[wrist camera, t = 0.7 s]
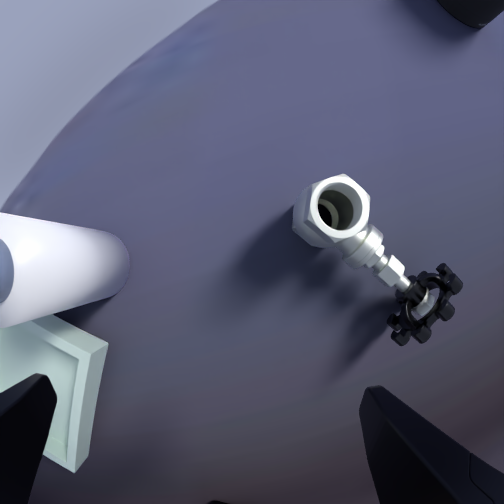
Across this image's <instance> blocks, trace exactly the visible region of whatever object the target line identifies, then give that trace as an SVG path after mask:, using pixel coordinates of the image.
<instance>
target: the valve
mask: <svg viewBox="0 0 504 504" xmlns="http://www.w3.org/2000/svg"><path fill="white" fill-rule="evenodd" d="M318 204H322V205H324V206H325V207H326V208H327V209H328V210H329V211H330V213H331V216H332V226H331V228H330V227H329V226H327V225H326V224H325V223H324V222H323V221H322V219H321V217H320V215H319V212H318ZM369 207H370V196H369V195H368V194H367V193H366V192H365V191H364V190H363V189H362V188H361V187H360V186H359V185H358V184H357V183H356V182H354V181H353V180H352V179H351V178H349V177H348V176H347V175H345V174H341V175H337V176H334V177H331V178H328V179H325V180H322V181H320V182H317V183H314V184H312V185H310V186H308V187H307V188H305V189H304V190H303V191H302V192H301V193H300V194H299V196H298V197H297V199H296V202H295V204H294V208H293V222H292V230H293V231H294V232H295V233H297V234H298V235H299V236H300V237H301V238H303V239H304V240H305V241H306V242H307V243H309V244H310V245H311V246H316V247H320V248H333V247H336V248H337V249H339V250H340V251H341V252H342V253H343V256H342V259H343V261H345V262H346V263H347V264H348V265H349V266H350V267H351V268H353V269H358V268H360V267H361V266H364V267H366V268H370V267H372V268H374V271H373V273H372V274H373V275H374V276H375V277H376V278H377V279H378V280H379V281H380V282H381V283H383V284H384V285H385V286H387V287H391V286H393V285H394V286H395V287H396V288H397V290H396V294H395V295H396V298H397V301H398V302H399V303H400V304H401V305H402V307H401V312H400V315H399V316H396V315H395V314H394V313H392V314H391V315H390V316H389V317H388V319H387V324H388V325H389V326H390V327H391V328H392V329H394V330H395V331H398V330H400V329H401V328H402V329H401V330H400V332H399V333H397V332H395V331H394V330H393V332H392V334H391V339H392V340H393V341H395V342H396V343H397V344H398V345H399V346H404V345H405V344H406V343H407V342H408V341H409V340H410V337H411V336H412V337H413V338H414V339H416V340H417V341H418V342H419V343H421V344H422V343H425V342H426V341H427V340H428V339H429V338H430V336H431V330H430V327H431V325H432V324H433V323H434V322H435V321H436V320H437V319H439V318H440V319H441V320H442V321H448V320H449V319H450V318H451V317H452V316H453V315H454V312H455V308H454V307H453V306H452V305H451V303H450V302H449V298H450V297H451V296H452V295H456V294H457V293H459V292H460V291H461V289H462V287H463V283H462V281H461V280H460V279H459V278H458V277H457V276H456V274H454V273H453V272H452V271H451V269H450V268H449V267H448V266H447V265H446V264H445V263H442V264H440V265H439V266H438V267H437V268H436V270H437V271H438V272H439V275H438V274H436V273H427V272H426V271H423V272H421V273H420V274H419V275H418V276H417V277H416V276H414V275H411V276H409V277H405V276H404V275H403V273H404V268H405V267H404V266H403V265H402V264H401V263H400V262H399V261H398V260H397V259H396V258H395V257H394V256H393V255H384V254H383V252H384V247H383V246H382V245H381V243H382V240H383V234H382V233H381V232H380V231H379V230H378V229H376V228H375V227H374V226H373V225H372V224H371V225H368V226H367V223H368V217H369ZM448 281H449V282H448ZM447 282H448V283H447ZM434 288H439V289H440V293H439V297H438V299H437V301H436V303H435V305H434V306H433V303H434V297H433V296H432V295H431V294H430V293H429V291H430V290H432V289H434ZM432 306H433V308H432ZM431 308H432V309H431ZM430 309H431V310H430ZM411 311H413V312H414V313H415V314H417V315H420V316H423V315H424V314H426V313H427V312H429V313H428V314H426V315H425V316H424V317H423V318H421V319H420V320H418V321H417V320H416V319H415V318H414V317H413V316H412V314H411Z"/></svg>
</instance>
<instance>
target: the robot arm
mask: <svg viewBox="0 0 504 504" xmlns="http://www.w3.org/2000/svg"><path fill="white" fill-rule="evenodd" d="M56 404H57V394H56V392H55V390H54V388H53V385H52V383H51V381H50V379H49V377H48V376H47V375H44V374H40V373H35V374H33V375H31V376H29V377H27V378H26V379H24V380H22V381H20V382H19V383H17V384H15V385H13V386H12V387H10V388H8V389H6V390H5V391H3V392H1V393H0V504H27V503H28V500H29V496H30V493H31V489H32V486H33V482H34V479H35V476H36V473H37V470H38V467H39V463H40V460H41V457H42V455H43V452H44V449H45V446H46V443H47V439H48V435H49V431H50V427H51V423H52V419H53V416H54V412H55V408H56ZM359 415H360V421H361V426H362V432H363V437H364V443H365V449H366V455H367V460H368V464H369V467H370V471H371V474H372V478H373V481H374V484H375V488H376V491H377V495H378V498H379V502H380V504H504V474H503V473H502V472H500V471H498V470H497V469H495V468H493V467H492V466H490V465H489V464H487V463H486V462H484V461H483V460H481V459H480V458H478V457H477V456H476V455H474V454H473V453H470V451H468V450H467V449H466V448H464V447H463V446H462V445H460V444H459V443H457V442H456V441H455V440H453V439H452V438H451V437H449V436H448V435H446V434H445V433H444V432H442V431H441V430H440V429H438V428H437V427H436V426H434V425H433V424H432V423H430V422H429V421H428V420H426V419H425V418H424V417H422V416H421V415H420V414H418V413H417V412H416V411H414V410H413V409H412V408H410V407H409V406H408V405H406V404H405V403H404V402H402V401H401V400H400V399H398V398H397V397H396V396H394V395H393V394H392V393H390V392H389V391H388V390H386V389H385V388H384V387H382V386H379V385H378V386H371V387H367V388H366V389H365V392H364V395H363V398H362V401H361V405H360V408H359ZM211 504H227V503H223V502H219V501H212V502H211Z"/></svg>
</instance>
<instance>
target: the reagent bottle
mask: <svg viewBox="0 0 504 504" xmlns="http://www.w3.org/2000/svg"><path fill="white" fill-rule="evenodd" d="M129 271H130V259H129V255H128V252H127V249H126V247H125V245H124V244H123V242H122V241H121V240H120V239H119V238H118V237H117V236H115V235H114V234H112V233H110V232H106V231H101V230H95V229H90V228H84V227H78V226H73V225H67V224H61V223H56V222H50V221H45V220H39V219H33V218H28V217H22V216H17V215H11V214H6V213H0V328H6V327H10V326H13V325H16V324H20V323H23V322H27V321H30V320H34V319H37V318H40V317H44V316H47V315H51V314H54V313H57V312H61V311H64V310H68V309H71V308H74V307H78V306H81V305H85V304H88V303H91V302H95V301H98V300H102V299H105V298H108V297H111V296H113V295H115V294H117V293H118V292H119V291H120V290H121V289H122V288H123V287H124V285H125V283H126V281H127V279H128V276H129Z"/></svg>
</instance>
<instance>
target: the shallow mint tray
mask: <svg viewBox="0 0 504 504" xmlns="http://www.w3.org/2000/svg"><path fill="white" fill-rule="evenodd" d="M108 344H109V343H107V342H105V341H104V340H103V339H101V338H100V337H97V336H93V335H91V334H89V333H87V332H85V331H83V330H81V329H79V328H77V327H75V326H73V325H71V324H69V323H67V322H65V321H64V320H62V319H60V318H58V317H56V316H54V315H53V314H51V315H47V316H44V317H40V318H37V319H34V320H30V321H27V322H23V323H20V324H16V325H13V326H10V327H6V328H0V393H1V392H3V391H5V390H6V389H8V388H10V387H12V386H13V385H15V384H17V383H19V382H20V381H22V380H24V379H26V378H27V377H29V376H31V375H33V374H35V373H40V374H44V375H47V376H48V377H49V379H50V381H51V383H52V385H53V388H54V390H55V392H56V394H57V404H56V408H55V412H54V416H53V419H52V423H51V427H50V431H49V435H48V439H47V443H46V446H45V449H44V452H43V455H45V456H46V457H48V458H49V459H51V460H53V461H54V462H56V463H58V464H59V465H61V466H63V467H65V468H66V469H68V470H70V471H72V472H74V473H75V472H76V471H77V470H78V468H79V467H80V466H81V464H82V463H83V462H84V461H85V459H86V458H87V457H88V455H89V447H90V442H91V433H92V426H93V420H94V413H95V408H96V402H97V396H98V391H99V386H100V381H101V376H102V371H103V366H104V362H105V357H106V354H107V348H108Z"/></svg>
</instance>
